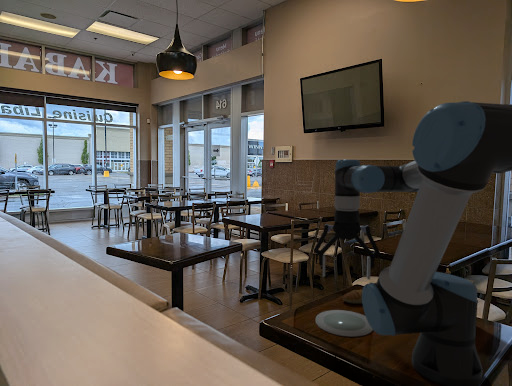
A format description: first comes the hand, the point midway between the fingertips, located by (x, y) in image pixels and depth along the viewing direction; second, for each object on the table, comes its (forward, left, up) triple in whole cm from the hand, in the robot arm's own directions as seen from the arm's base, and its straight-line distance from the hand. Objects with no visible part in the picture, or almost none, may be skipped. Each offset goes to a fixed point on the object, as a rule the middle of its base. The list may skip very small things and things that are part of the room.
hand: (345, 277), depth 111 cm
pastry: (+21, -2, -16) cm, 27 cm away
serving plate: (0, 0, -15) cm, 15 cm away
